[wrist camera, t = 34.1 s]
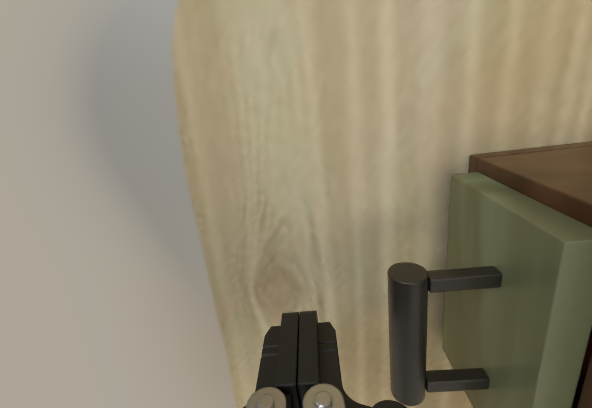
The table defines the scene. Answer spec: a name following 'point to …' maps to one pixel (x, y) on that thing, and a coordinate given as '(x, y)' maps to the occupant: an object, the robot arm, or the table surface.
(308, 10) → the table surface
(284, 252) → the table surface
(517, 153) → the cabinet
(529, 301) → the drawer
